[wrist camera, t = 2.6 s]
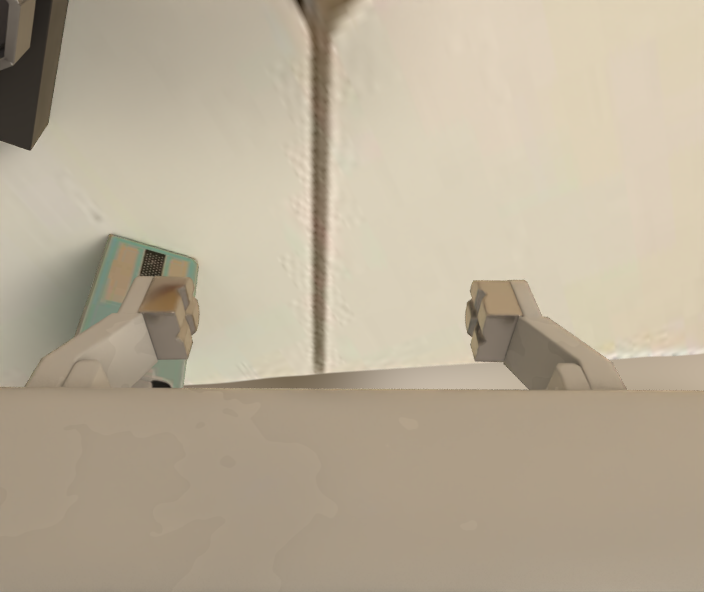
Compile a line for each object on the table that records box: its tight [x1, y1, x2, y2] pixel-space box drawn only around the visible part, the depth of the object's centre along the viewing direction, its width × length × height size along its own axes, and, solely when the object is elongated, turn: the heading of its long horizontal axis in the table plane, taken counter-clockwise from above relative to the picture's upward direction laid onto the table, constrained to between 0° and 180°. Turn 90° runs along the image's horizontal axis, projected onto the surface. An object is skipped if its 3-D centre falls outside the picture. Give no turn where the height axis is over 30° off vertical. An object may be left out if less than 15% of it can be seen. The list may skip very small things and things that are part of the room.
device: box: [74, 234, 199, 388], centre depth 39 cm, size 16×8×30 cm, turn 151°
